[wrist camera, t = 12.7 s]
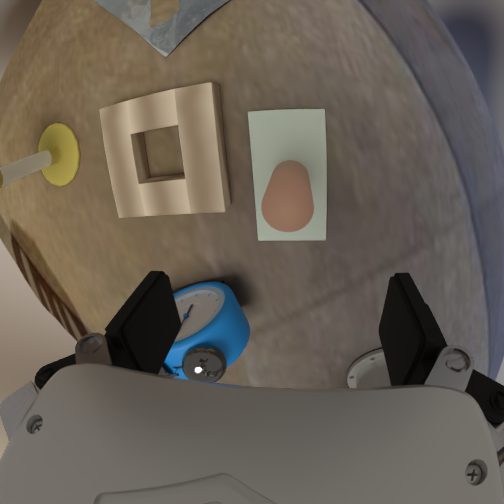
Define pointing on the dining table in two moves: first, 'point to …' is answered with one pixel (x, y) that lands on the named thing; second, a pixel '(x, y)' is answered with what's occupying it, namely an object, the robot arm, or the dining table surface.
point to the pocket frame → (192, 146)
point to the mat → (290, 148)
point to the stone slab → (165, 34)
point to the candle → (48, 158)
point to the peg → (288, 198)
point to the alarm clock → (206, 333)
